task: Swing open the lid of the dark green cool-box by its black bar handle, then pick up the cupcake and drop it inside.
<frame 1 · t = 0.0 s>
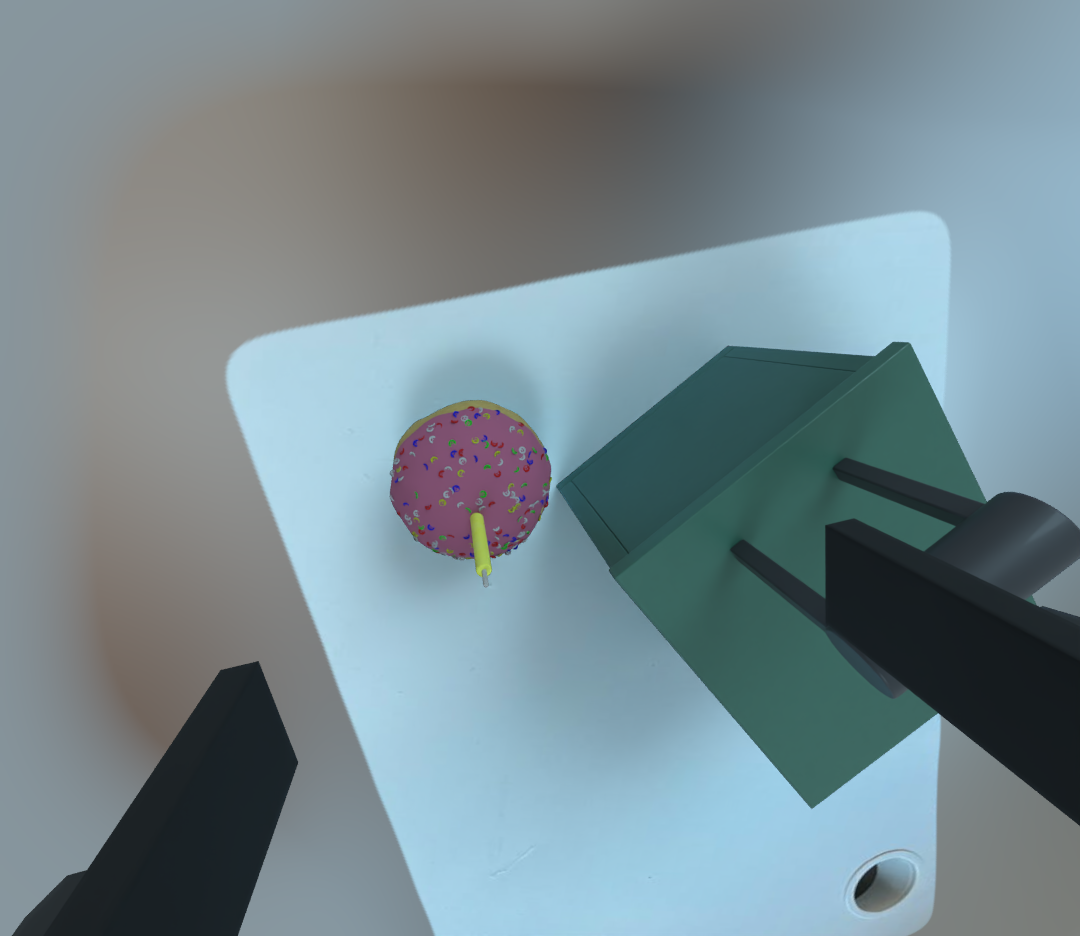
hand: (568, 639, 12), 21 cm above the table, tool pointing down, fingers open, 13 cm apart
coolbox: (705, 504, 35), on the table
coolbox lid: (926, 656, 18), point 17 cm above the table, hinge at 0.0°
cupcake: (469, 460, 32), on the table
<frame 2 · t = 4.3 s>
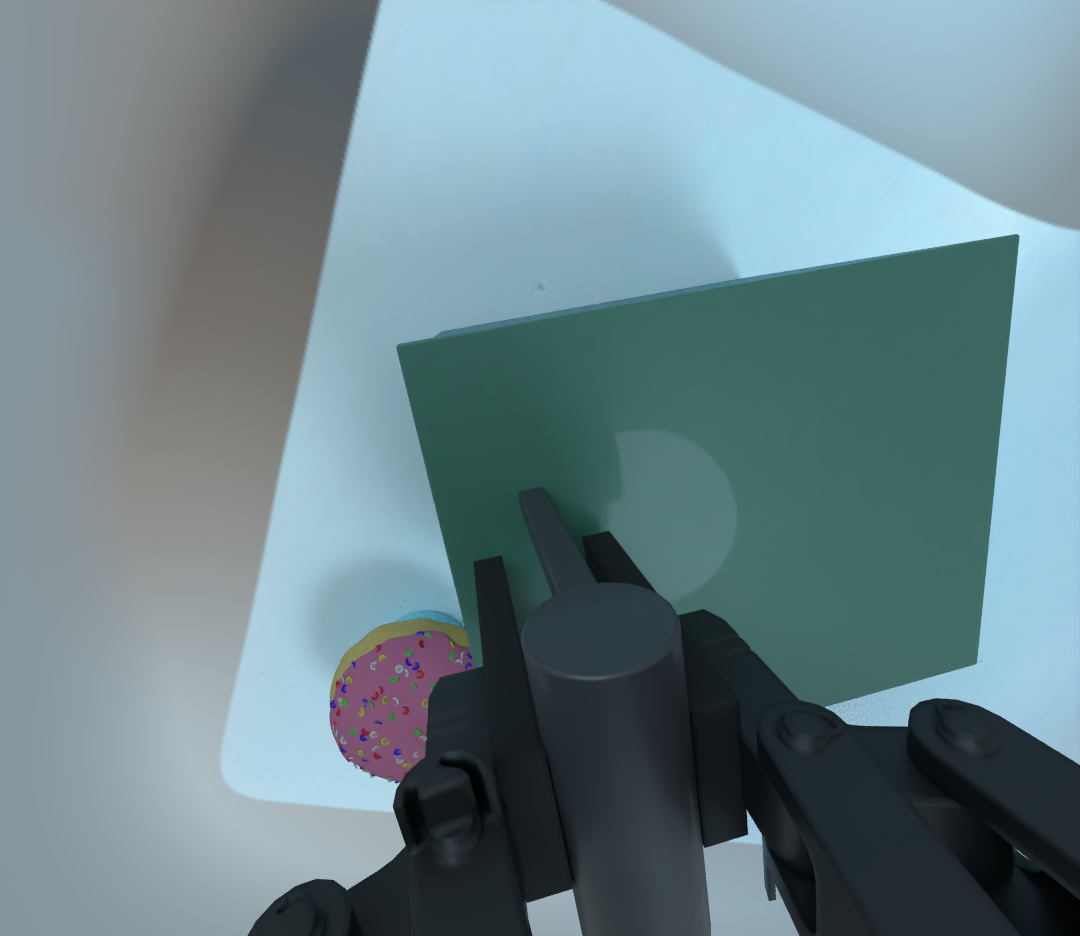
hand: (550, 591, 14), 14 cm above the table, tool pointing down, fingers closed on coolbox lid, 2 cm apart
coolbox: (613, 436, 28), on the table
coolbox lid: (827, 596, 12), point 17 cm above the table, hinge at 0.0°, touching gripper
cupcake: (424, 646, 30), on the table
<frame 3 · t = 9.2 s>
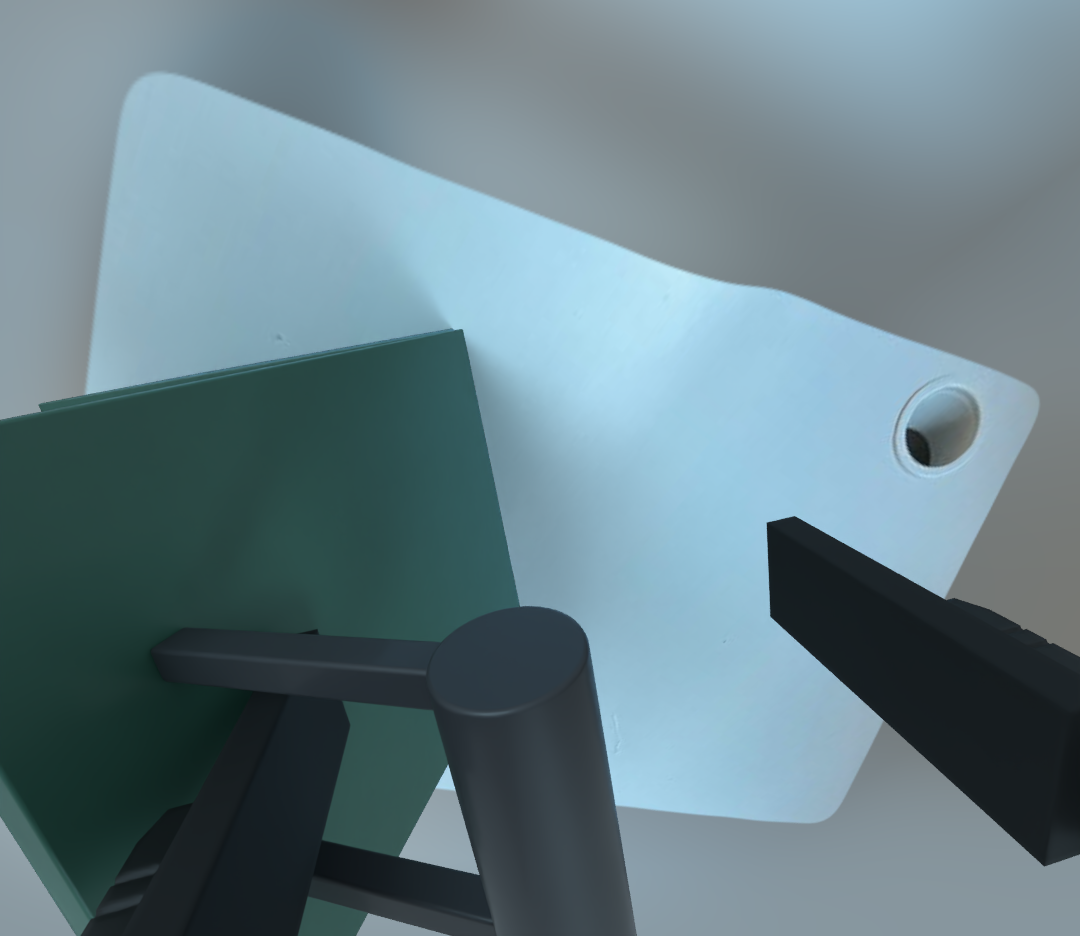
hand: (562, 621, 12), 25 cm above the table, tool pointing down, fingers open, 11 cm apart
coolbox: (358, 454, 35), on the table
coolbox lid: (497, 596, 14), point 23 cm above the table, hinge at 62.8°, touching gripper
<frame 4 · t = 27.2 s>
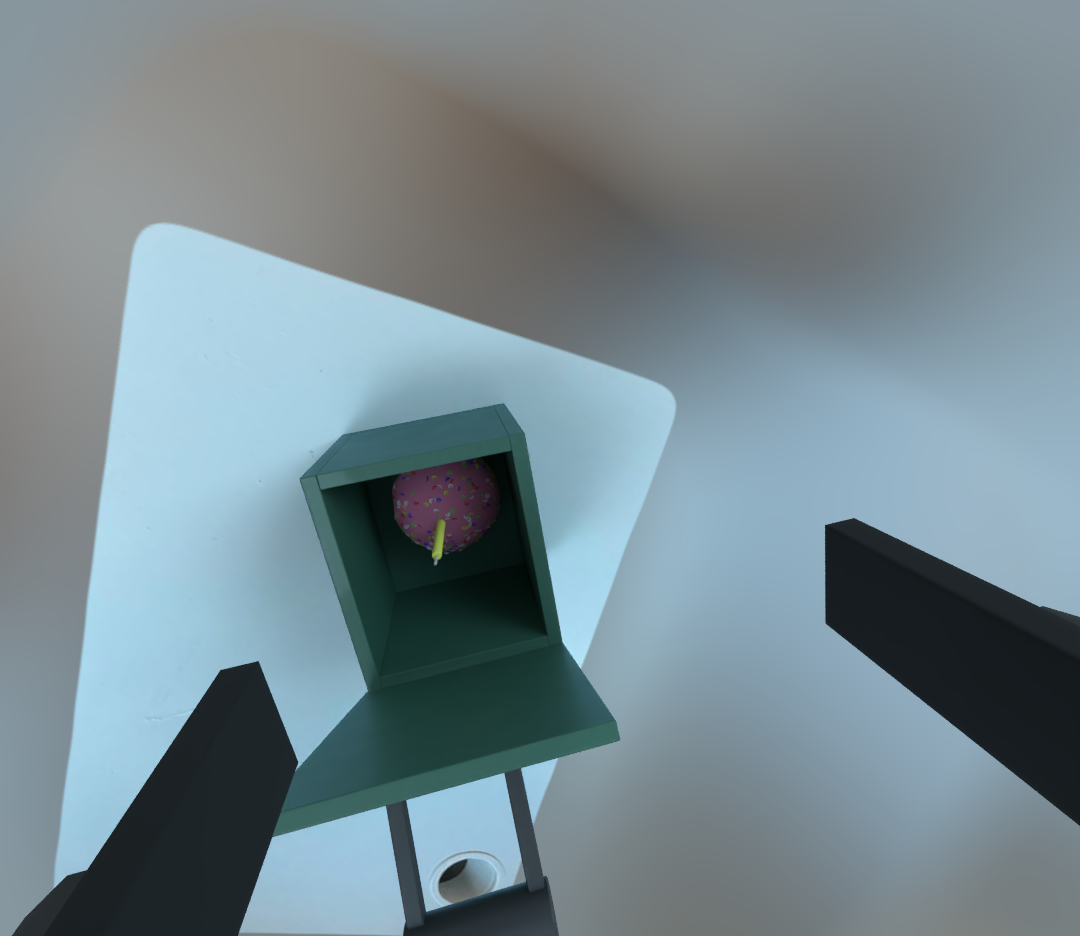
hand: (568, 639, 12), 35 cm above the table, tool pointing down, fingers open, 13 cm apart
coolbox: (445, 504, 46), on the table
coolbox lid: (473, 784, 27), point 23 cm above the table, hinge at 65.3°
cupcake: (447, 482, 45), point 1 cm above the table, touching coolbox
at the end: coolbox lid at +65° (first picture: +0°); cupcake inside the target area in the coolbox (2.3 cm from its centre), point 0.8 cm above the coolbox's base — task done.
